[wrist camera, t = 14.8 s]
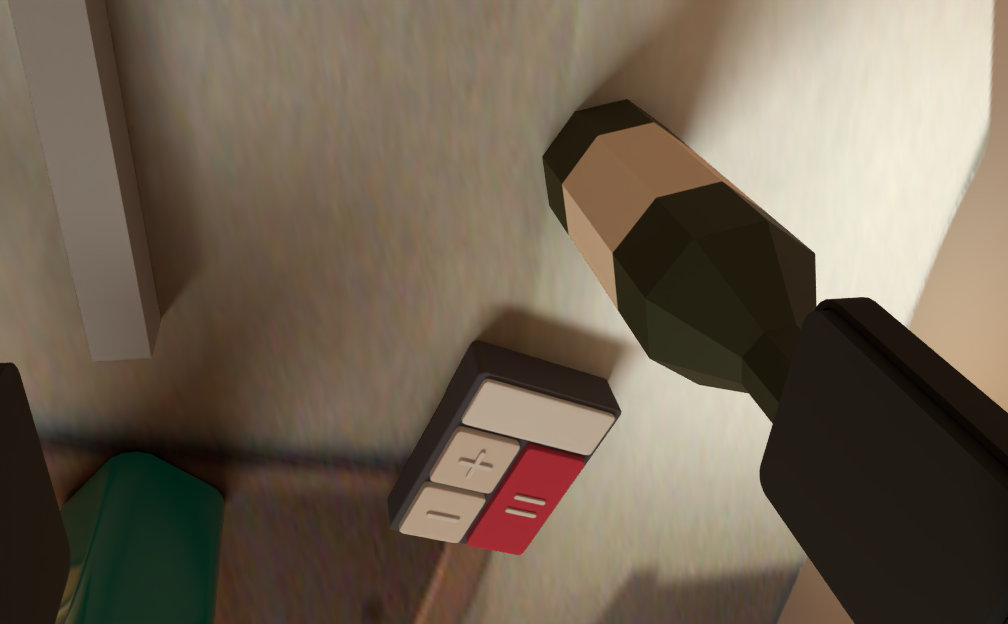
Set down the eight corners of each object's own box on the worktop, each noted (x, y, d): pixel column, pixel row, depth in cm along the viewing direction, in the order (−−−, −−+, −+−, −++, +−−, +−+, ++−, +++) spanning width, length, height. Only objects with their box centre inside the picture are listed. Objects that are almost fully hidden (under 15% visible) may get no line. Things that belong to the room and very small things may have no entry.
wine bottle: (690, 110, 49) (1113, 428, 24) (647, 236, 52) (971, 623, 28) (560, 87, 46) (880, 416, 21) (525, 221, 50) (761, 631, 25)
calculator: (388, 538, 57) (483, 377, 50) (384, 493, 60) (472, 337, 54) (524, 563, 61) (628, 418, 55) (513, 520, 65) (609, 378, 58)
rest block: (25, -52, 37) (-1, -38, 34) (96, -49, 38) (78, -35, 34) (105, 323, 47) (91, 361, 44) (160, 319, 48) (151, 357, 45)
